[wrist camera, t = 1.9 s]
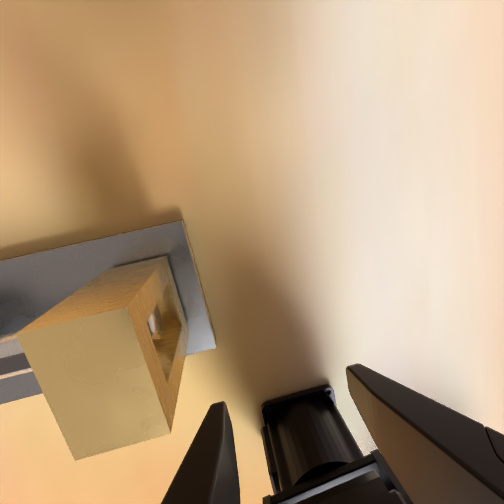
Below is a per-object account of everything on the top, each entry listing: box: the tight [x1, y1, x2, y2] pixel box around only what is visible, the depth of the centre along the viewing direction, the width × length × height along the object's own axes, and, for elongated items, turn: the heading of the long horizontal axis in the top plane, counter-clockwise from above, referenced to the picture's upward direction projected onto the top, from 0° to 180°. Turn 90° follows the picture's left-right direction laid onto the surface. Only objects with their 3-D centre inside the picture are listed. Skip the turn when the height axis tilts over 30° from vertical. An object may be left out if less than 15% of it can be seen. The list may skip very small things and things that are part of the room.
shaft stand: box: [0, 220, 216, 404], centre depth 17 cm, size 18×10×6 cm, turn 102°
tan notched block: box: [16, 256, 190, 461], centre depth 15 cm, size 4×6×8 cm, turn 12°
